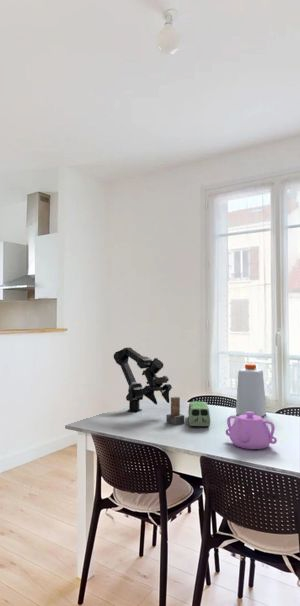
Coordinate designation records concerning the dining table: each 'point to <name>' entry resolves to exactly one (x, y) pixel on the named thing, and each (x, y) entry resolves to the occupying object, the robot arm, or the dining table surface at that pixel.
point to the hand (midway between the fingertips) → (162, 403)
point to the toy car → (199, 414)
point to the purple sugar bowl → (250, 431)
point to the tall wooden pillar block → (175, 412)
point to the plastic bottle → (250, 391)
